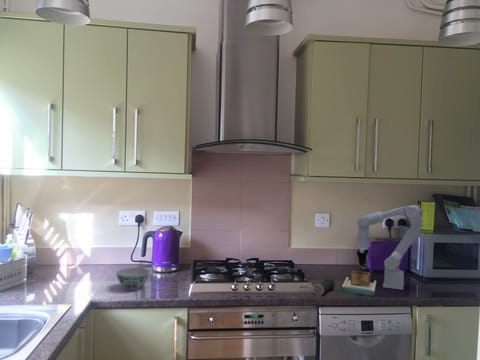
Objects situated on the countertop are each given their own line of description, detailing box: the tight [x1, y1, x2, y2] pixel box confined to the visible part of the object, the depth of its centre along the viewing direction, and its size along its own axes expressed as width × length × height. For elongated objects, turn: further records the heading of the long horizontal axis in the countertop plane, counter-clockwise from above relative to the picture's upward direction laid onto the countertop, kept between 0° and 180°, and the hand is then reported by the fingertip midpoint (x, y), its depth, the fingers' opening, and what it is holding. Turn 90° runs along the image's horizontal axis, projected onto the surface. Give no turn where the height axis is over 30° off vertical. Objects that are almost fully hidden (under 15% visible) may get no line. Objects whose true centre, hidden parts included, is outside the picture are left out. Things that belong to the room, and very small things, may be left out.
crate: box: [350, 270, 371, 287], centre depth 200 cm, size 9×7×6 cm
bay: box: [341, 276, 377, 296], centre depth 196 cm, size 15×20×2 cm
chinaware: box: [116, 267, 150, 291], centre depth 184 cm, size 15×15×8 cm
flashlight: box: [312, 278, 336, 297], centre depth 188 cm, size 15×5×5 cm, turn 144°
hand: (362, 263), depth 208 cm, fingers open, 6 cm apart
